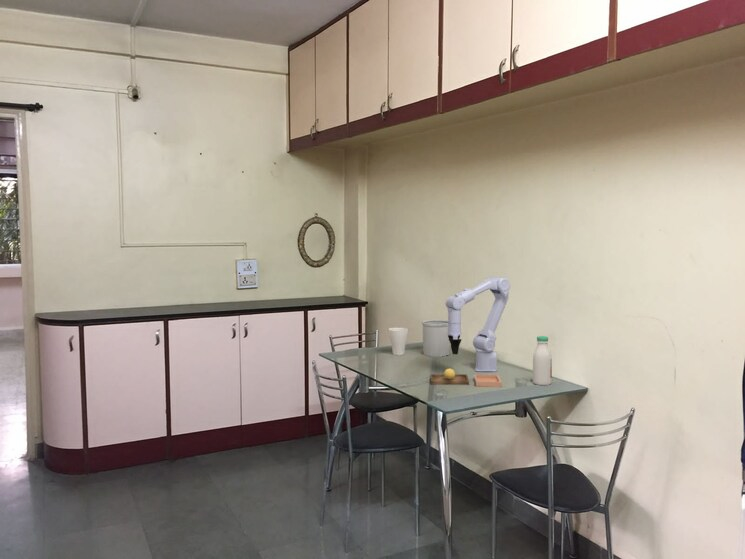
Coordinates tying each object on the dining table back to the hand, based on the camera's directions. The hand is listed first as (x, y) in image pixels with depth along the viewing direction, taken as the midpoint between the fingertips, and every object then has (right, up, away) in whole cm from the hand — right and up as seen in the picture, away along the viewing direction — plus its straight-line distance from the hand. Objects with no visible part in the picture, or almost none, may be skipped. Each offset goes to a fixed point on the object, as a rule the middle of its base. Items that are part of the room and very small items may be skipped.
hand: (454, 352), depth 280 cm
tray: (-4, -11, -12) cm, 17 cm away
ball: (-4, -8, -12) cm, 15 cm away
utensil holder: (-4, -6, +44) cm, 45 cm away
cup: (-24, -7, +46) cm, 52 cm away
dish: (+12, -11, -16) cm, 23 cm away
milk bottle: (+35, -11, -18) cm, 41 cm away
